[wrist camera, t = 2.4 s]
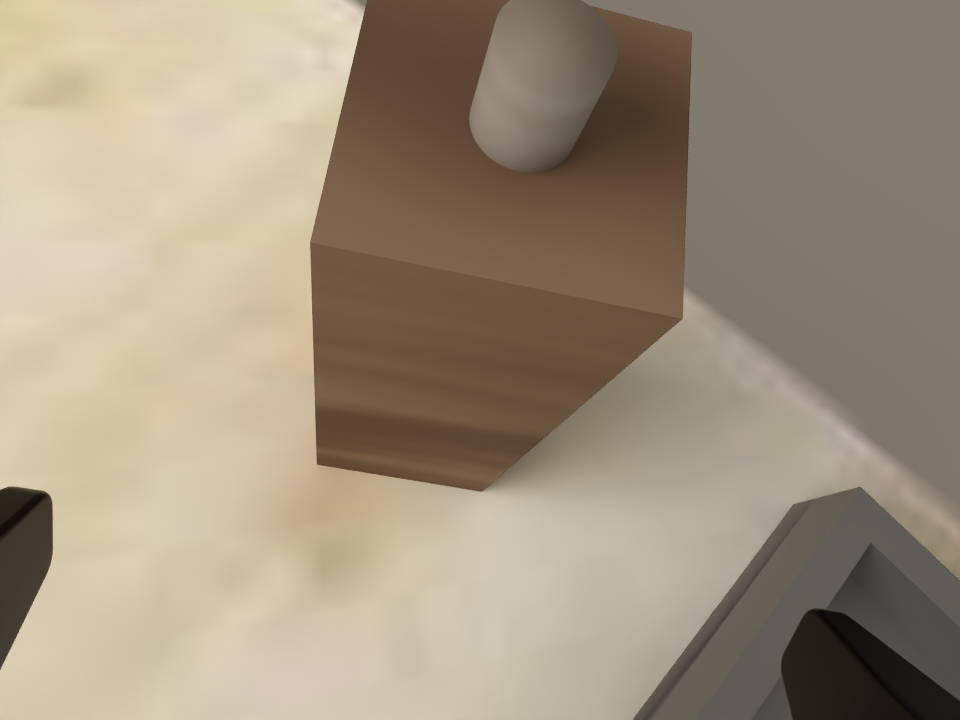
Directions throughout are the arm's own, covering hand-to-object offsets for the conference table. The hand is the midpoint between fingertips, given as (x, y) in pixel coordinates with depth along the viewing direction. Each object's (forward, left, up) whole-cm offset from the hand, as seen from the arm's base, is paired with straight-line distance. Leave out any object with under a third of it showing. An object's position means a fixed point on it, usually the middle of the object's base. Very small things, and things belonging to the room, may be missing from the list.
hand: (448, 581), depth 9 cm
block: (+4, +3, -11) cm, 12 cm away
